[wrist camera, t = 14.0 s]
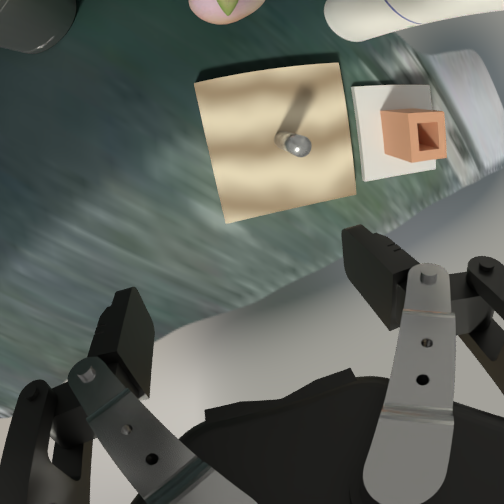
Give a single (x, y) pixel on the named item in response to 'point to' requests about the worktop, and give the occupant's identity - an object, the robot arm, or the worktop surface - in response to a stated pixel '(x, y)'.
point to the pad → (370, 127)
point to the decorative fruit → (224, 9)
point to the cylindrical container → (396, 14)
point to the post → (293, 143)
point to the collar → (414, 134)
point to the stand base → (264, 130)
